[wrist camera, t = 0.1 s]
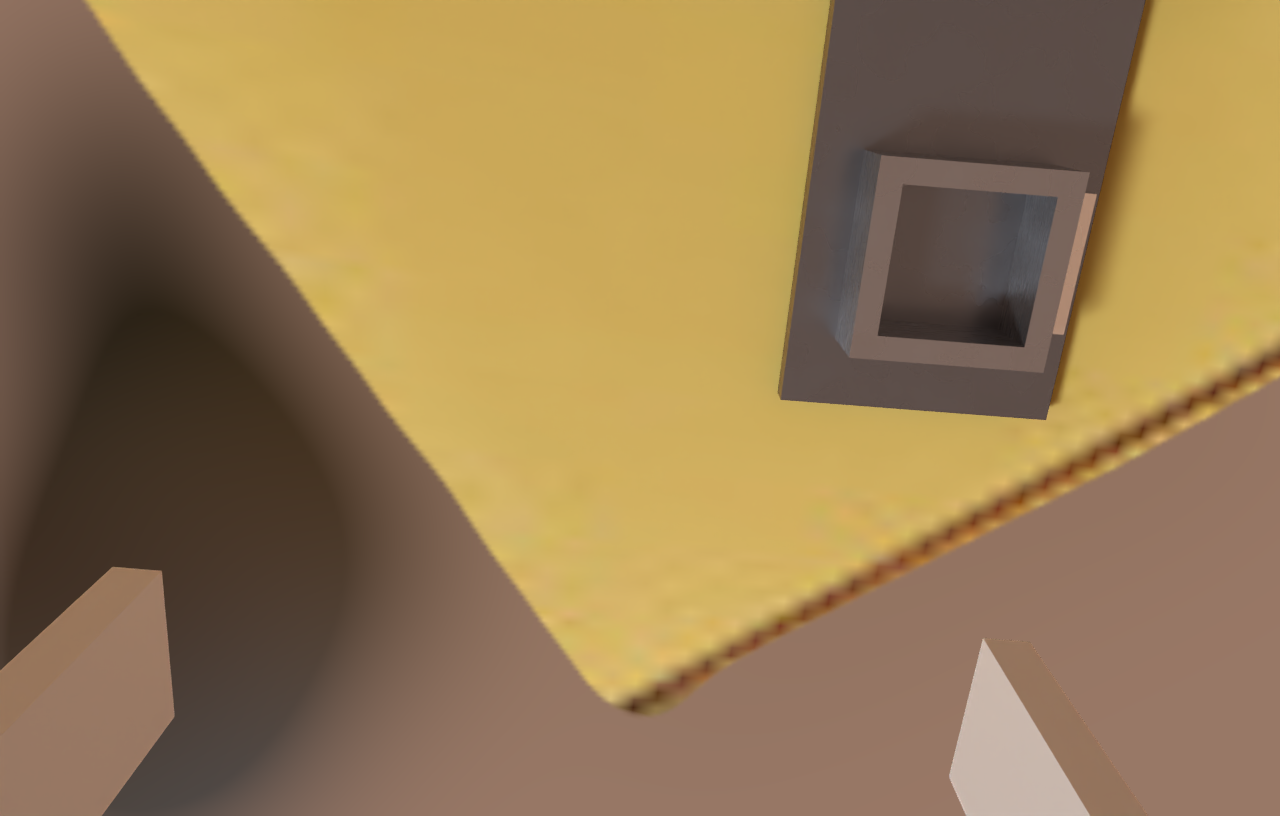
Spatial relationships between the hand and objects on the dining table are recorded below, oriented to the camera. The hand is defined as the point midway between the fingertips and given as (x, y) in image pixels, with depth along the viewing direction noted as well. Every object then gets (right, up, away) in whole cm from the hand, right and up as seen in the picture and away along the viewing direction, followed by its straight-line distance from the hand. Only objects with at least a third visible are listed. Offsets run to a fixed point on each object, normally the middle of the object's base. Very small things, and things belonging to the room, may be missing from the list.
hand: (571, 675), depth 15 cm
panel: (+15, +19, +23) cm, 33 cm away
